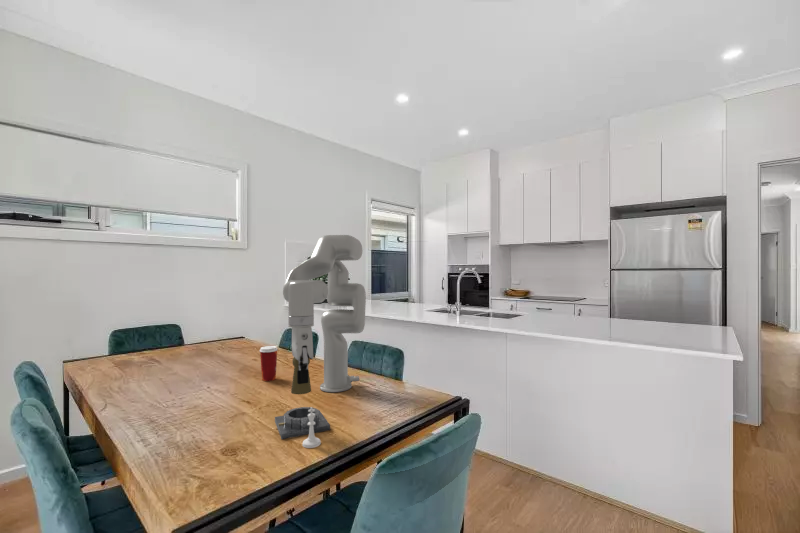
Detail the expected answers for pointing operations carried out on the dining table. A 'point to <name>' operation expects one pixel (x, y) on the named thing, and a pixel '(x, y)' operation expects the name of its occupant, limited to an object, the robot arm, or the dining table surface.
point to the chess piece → (311, 433)
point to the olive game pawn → (296, 387)
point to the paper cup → (268, 362)
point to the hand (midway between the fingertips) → (301, 380)
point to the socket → (300, 422)
